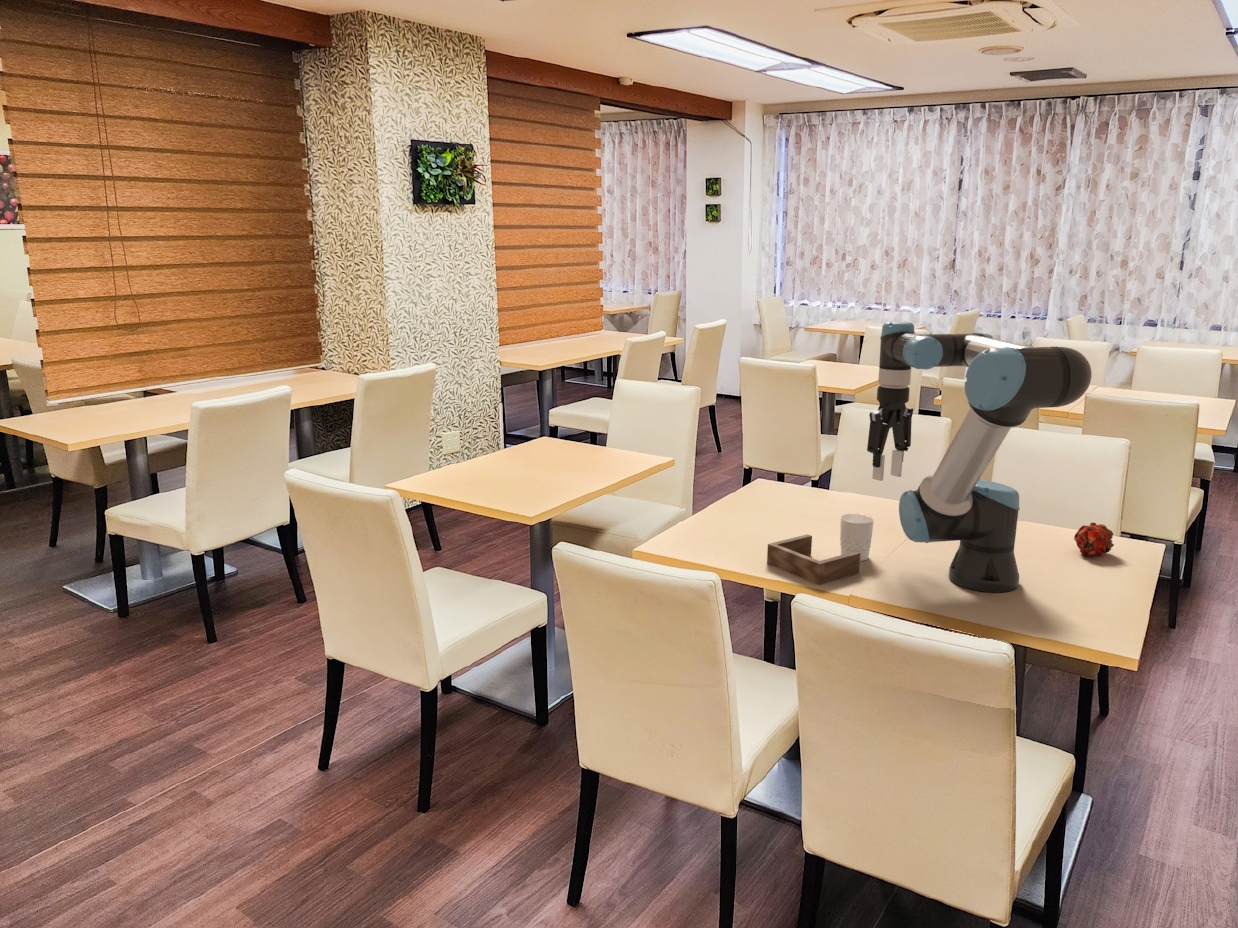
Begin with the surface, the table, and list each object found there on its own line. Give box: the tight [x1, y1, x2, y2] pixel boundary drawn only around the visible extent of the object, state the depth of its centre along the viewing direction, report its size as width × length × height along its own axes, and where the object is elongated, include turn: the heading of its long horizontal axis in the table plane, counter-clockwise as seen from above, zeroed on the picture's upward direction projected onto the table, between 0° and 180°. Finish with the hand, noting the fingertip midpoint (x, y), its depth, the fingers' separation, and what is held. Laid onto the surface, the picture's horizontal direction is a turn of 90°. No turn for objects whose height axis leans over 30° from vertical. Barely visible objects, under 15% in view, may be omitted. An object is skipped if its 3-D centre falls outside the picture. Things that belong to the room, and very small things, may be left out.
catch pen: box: [766, 534, 861, 586], centre depth 222 cm, size 17×14×5 cm
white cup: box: [839, 513, 875, 562], centre depth 229 cm, size 8×8×10 cm
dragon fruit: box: [1073, 522, 1115, 557], centre depth 232 cm, size 8×8×12 cm
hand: (886, 477), depth 232 cm, fingers open, 6 cm apart
